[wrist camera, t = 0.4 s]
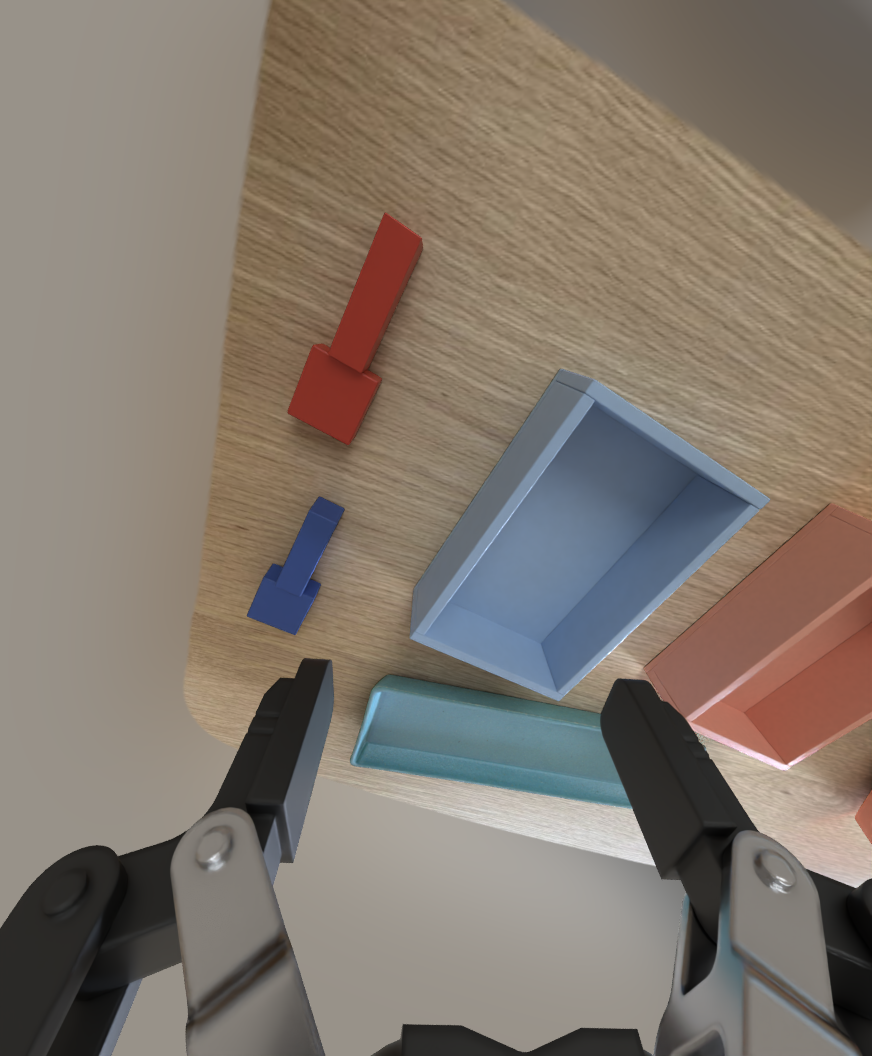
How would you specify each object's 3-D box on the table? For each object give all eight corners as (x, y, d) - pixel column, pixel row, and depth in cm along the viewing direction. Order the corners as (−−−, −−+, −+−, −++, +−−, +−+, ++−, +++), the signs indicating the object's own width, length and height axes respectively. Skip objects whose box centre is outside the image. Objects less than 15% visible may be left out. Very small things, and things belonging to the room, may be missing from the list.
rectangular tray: (694, 723, 31) (714, 753, 29) (636, 786, 35) (650, 817, 33) (377, 657, 28) (372, 686, 25) (353, 735, 32) (347, 766, 29)
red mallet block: (372, 212, 16) (365, 197, 14) (439, 258, 17) (440, 250, 15) (296, 407, 20) (283, 414, 18) (354, 438, 20) (346, 448, 18)
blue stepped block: (305, 489, 22) (294, 503, 20) (358, 514, 22) (351, 530, 21) (256, 600, 25) (242, 621, 23) (302, 619, 26) (293, 640, 24)
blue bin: (560, 368, 19) (594, 378, 15) (708, 467, 21) (771, 499, 17) (413, 588, 25) (409, 638, 21) (540, 646, 27) (558, 701, 23)
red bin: (830, 502, 22) (918, 541, 18) (932, 575, 24) (1029, 623, 20) (642, 668, 28) (677, 724, 24) (738, 713, 30) (784, 771, 26)
